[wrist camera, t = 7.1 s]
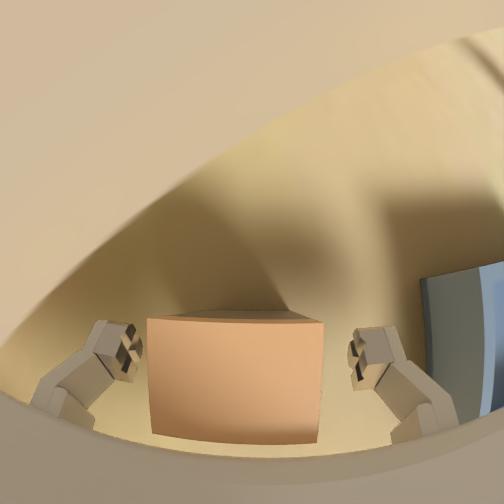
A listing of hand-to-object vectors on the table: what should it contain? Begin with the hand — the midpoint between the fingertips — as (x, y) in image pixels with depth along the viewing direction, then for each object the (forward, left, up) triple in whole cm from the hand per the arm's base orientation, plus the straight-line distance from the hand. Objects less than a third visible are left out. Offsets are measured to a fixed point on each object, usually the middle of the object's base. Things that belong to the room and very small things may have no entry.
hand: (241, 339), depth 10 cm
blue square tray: (-5, -16, -5) cm, 17 cm away
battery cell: (-1, 0, -5) cm, 5 cm away
